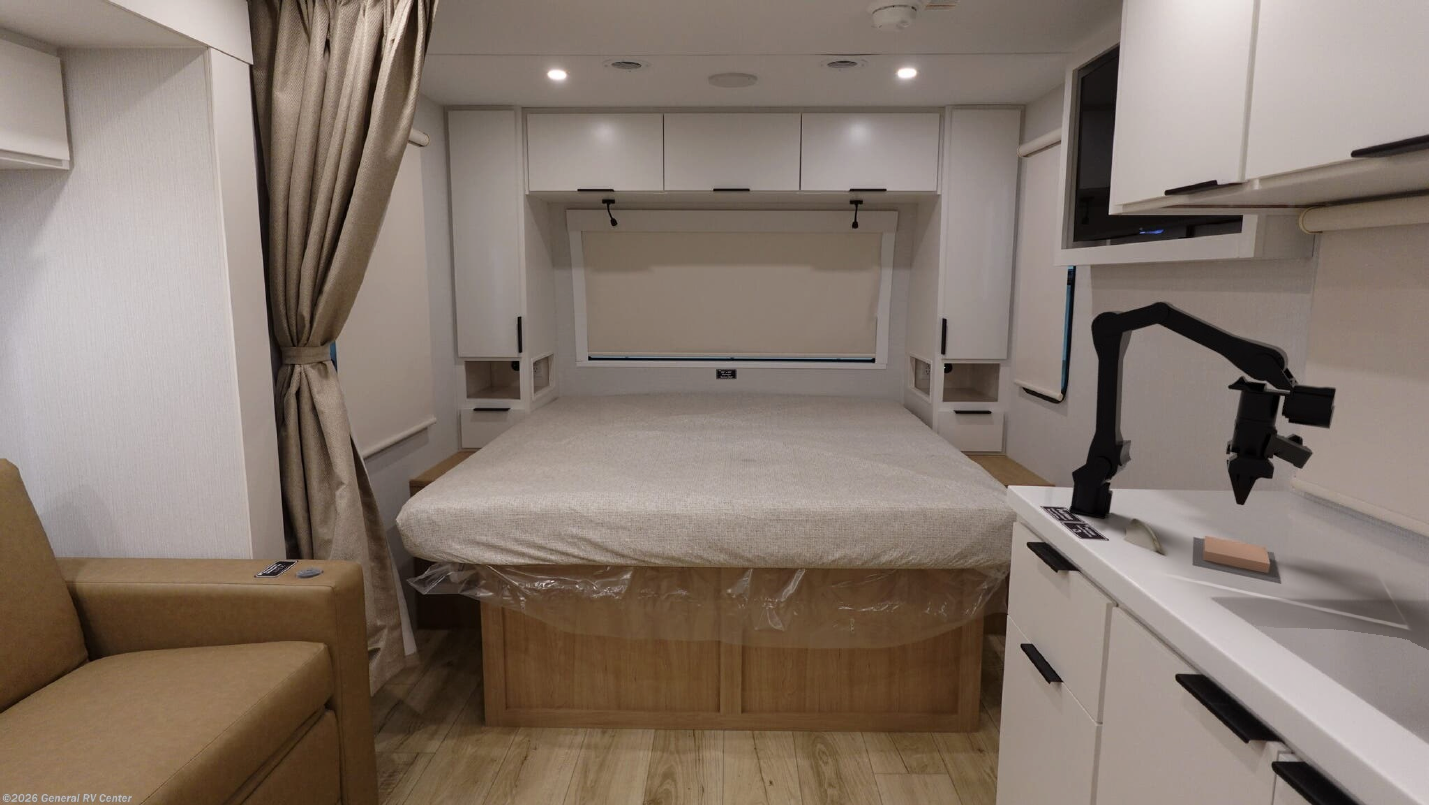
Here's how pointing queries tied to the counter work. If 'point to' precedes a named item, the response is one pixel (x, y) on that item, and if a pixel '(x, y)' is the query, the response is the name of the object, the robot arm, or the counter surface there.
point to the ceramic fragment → (1142, 536)
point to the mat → (1198, 561)
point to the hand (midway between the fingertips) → (1240, 504)
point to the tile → (1236, 554)
